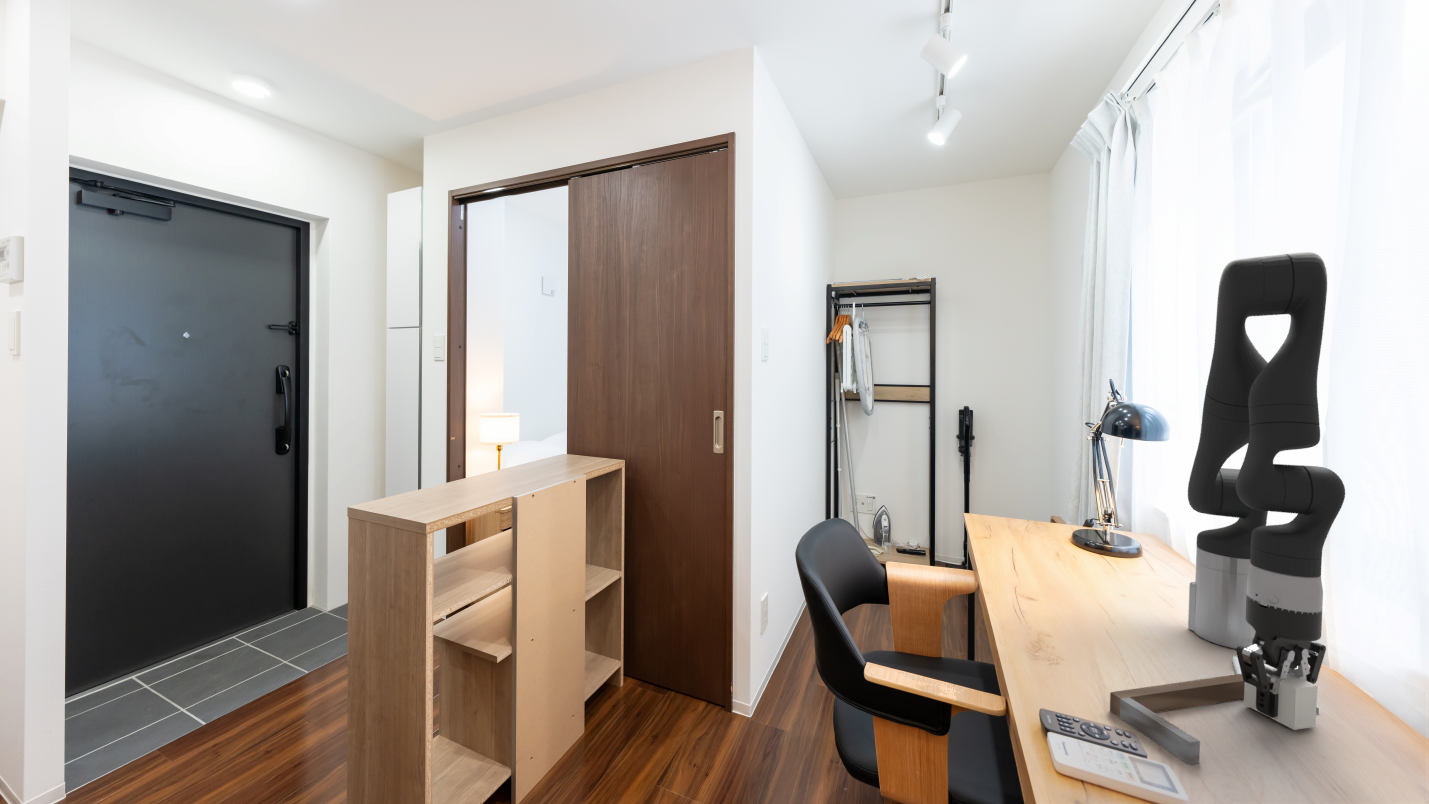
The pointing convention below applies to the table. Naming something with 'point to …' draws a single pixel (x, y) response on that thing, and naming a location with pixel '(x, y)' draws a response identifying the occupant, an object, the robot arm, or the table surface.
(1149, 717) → the guide fence
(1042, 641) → the table surface
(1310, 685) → the block
